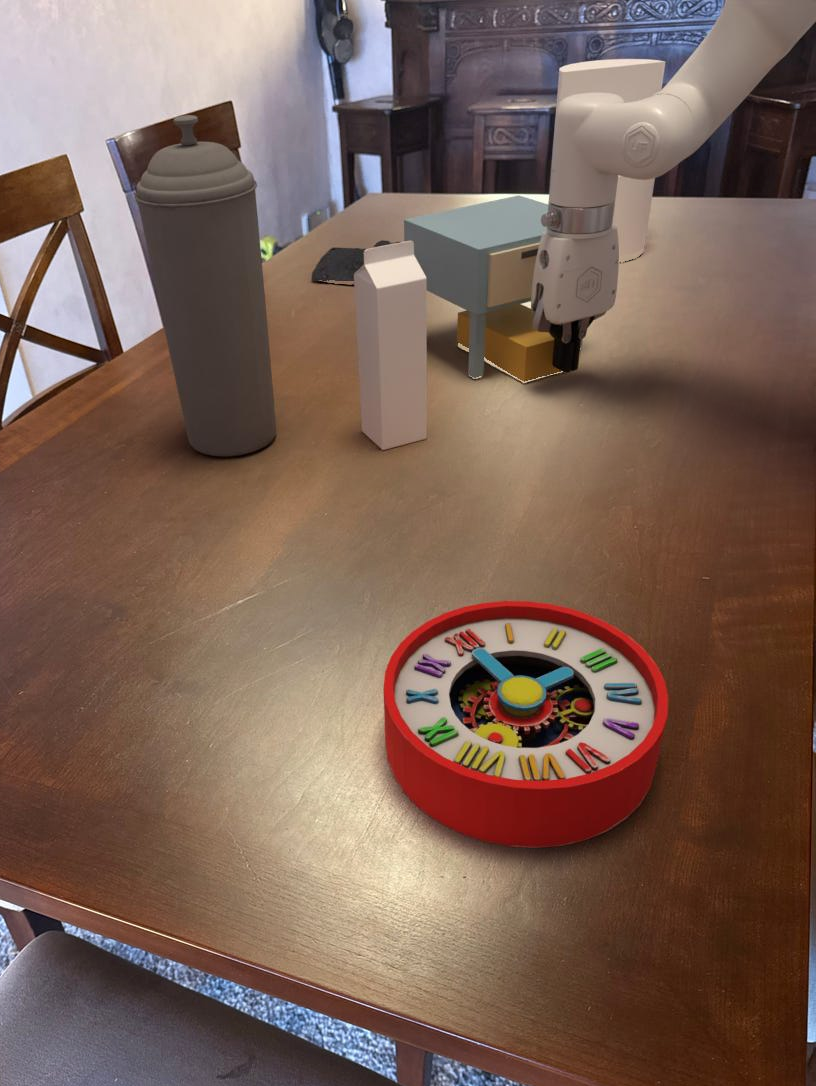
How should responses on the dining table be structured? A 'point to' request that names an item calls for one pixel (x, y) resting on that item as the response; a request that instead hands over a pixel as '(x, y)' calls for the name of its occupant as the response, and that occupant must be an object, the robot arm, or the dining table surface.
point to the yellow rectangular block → (513, 342)
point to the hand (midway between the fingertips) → (564, 368)
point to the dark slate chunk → (341, 263)
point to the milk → (392, 345)
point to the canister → (210, 291)
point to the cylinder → (631, 85)
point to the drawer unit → (479, 259)
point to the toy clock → (523, 722)
